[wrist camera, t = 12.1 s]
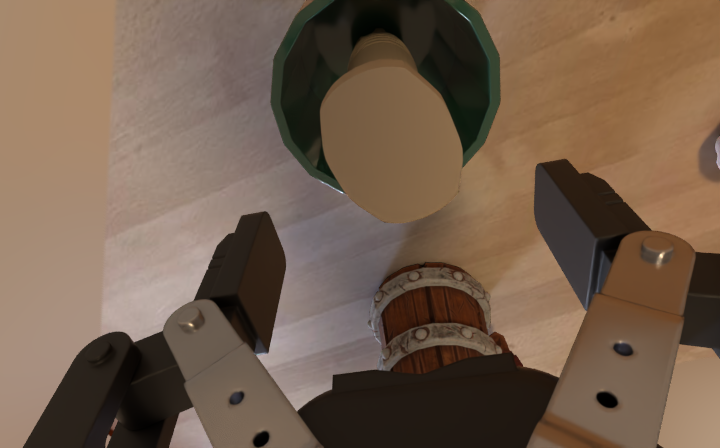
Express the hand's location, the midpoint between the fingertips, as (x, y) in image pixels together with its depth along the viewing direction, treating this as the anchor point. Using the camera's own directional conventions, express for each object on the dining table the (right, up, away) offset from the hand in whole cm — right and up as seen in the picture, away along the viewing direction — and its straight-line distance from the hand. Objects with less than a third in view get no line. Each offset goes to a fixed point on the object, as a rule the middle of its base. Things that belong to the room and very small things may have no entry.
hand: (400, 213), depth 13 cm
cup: (0, +11, +16) cm, 20 cm away
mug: (+7, -8, +30) cm, 32 cm away
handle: (0, +11, +15) cm, 19 cm away
